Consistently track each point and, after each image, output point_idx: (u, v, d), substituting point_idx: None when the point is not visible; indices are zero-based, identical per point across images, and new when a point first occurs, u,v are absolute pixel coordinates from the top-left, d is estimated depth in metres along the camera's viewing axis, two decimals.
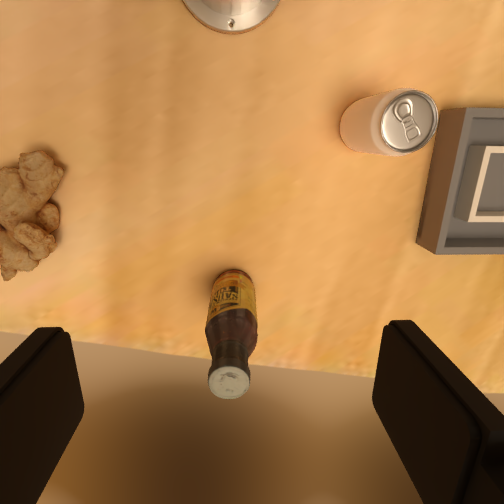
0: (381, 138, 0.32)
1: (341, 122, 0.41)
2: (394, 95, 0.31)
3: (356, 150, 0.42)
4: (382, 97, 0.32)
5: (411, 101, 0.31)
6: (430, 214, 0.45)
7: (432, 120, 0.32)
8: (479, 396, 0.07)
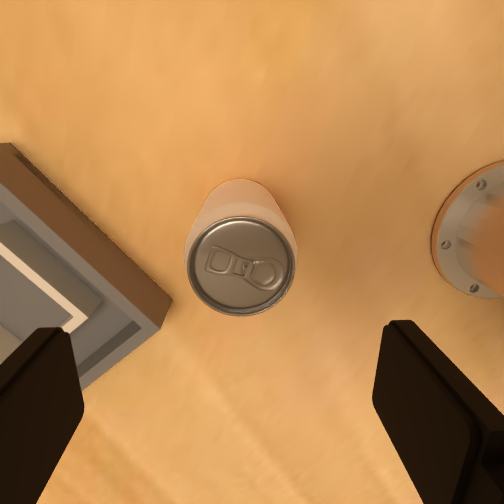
0: (258, 217, 0.17)
1: (272, 197, 0.27)
2: None
3: (227, 182, 0.25)
4: None
5: (263, 291, 0.18)
6: (45, 195, 0.25)
7: (210, 296, 0.18)
8: (479, 396, 0.07)
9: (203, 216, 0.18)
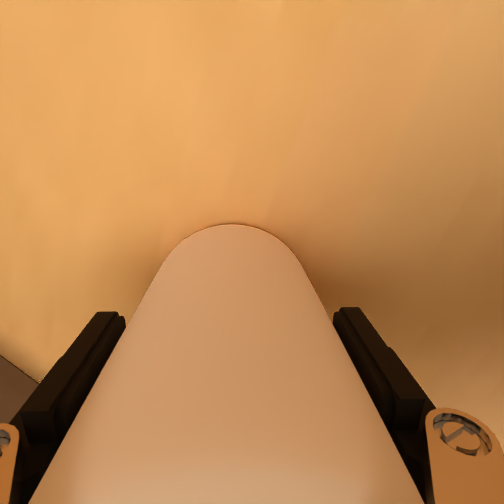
0: None
1: (298, 261, 0.13)
2: None
3: (202, 239, 0.11)
4: None
5: None
6: None
7: None
8: (400, 371, 0.07)
9: None
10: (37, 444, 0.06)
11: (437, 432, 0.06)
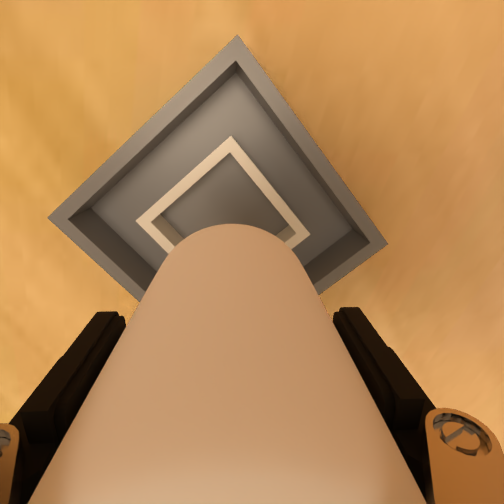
0: None
1: (299, 261, 0.13)
2: None
3: (203, 238, 0.11)
4: None
5: None
6: None
7: None
8: (399, 371, 0.07)
9: None
10: (37, 444, 0.06)
11: (437, 432, 0.06)
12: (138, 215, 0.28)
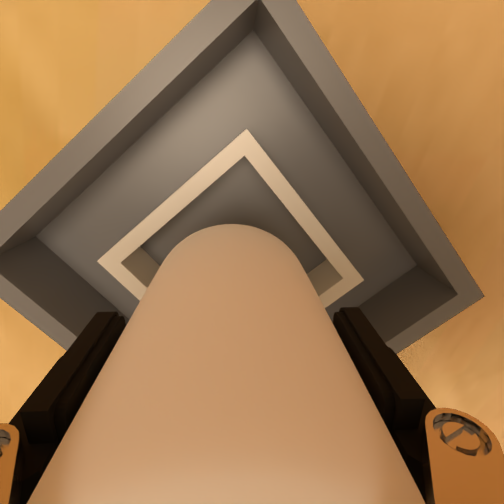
0: None
1: None
2: None
3: (202, 239, 0.11)
4: None
5: None
6: None
7: None
8: (400, 371, 0.07)
9: None
10: (37, 444, 0.06)
11: (437, 432, 0.06)
12: (106, 247, 0.19)
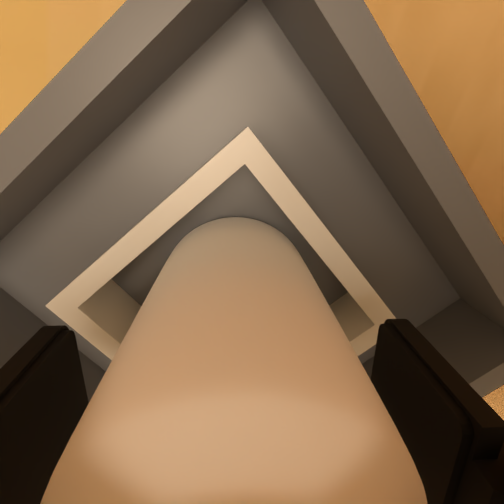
0: None
1: (298, 252, 0.14)
2: None
3: (209, 230, 0.12)
4: None
5: None
6: None
7: None
8: (472, 393, 0.07)
9: (90, 441, 0.04)
10: None
11: None
12: (67, 279, 0.15)
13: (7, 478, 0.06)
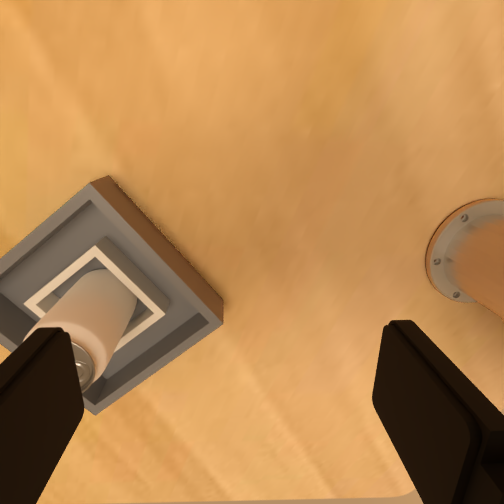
0: None
1: None
2: (98, 371, 0.26)
3: (87, 276, 0.33)
4: (108, 357, 0.27)
5: None
6: (138, 218, 0.32)
7: None
8: (479, 396, 0.07)
9: (31, 330, 0.25)
10: None
11: None
12: (33, 292, 0.35)
13: None
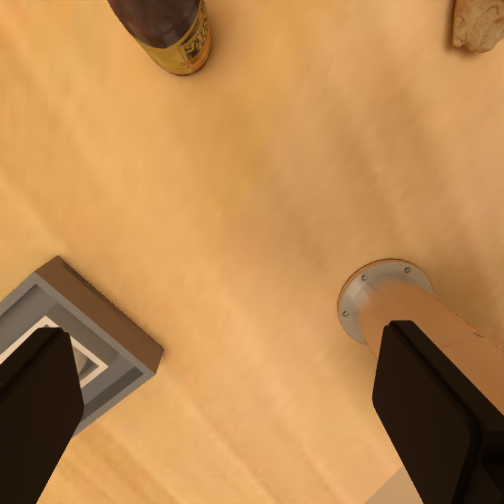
0: None
1: None
2: None
3: None
4: None
5: None
6: (81, 290, 0.39)
7: None
8: (479, 396, 0.07)
9: None
10: None
11: None
12: (3, 348, 0.42)
13: None
